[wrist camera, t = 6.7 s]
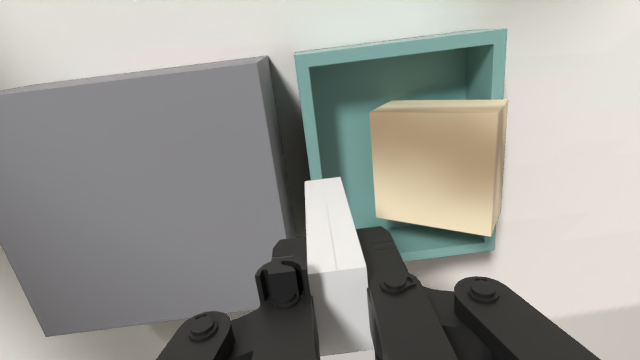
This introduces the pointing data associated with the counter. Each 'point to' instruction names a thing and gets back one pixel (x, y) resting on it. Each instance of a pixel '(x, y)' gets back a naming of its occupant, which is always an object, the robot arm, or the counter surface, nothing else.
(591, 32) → the counter surface
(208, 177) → the gray rectangular block
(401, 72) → the box
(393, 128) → the tile
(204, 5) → the counter surface
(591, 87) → the counter surface
